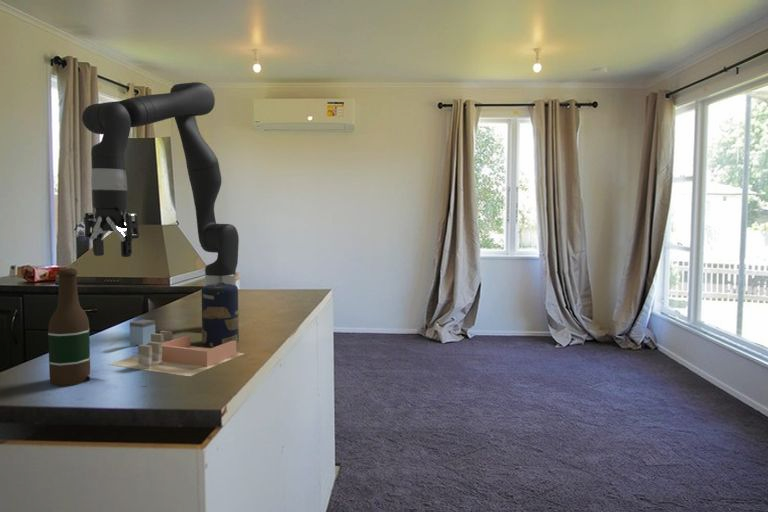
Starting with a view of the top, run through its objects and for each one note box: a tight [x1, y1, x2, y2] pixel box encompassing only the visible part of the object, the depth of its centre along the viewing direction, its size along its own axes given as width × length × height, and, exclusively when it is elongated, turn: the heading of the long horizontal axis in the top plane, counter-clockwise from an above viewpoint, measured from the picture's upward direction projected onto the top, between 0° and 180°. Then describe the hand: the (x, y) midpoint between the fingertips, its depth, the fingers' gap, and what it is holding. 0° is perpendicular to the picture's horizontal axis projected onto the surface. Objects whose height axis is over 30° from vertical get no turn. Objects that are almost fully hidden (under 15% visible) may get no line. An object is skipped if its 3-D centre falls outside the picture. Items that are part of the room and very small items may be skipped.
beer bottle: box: [47, 268, 91, 387], centre depth 108 cm, size 8×8×24 cm
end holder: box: [162, 334, 240, 367], centre depth 124 cm, size 12×15×4 cm
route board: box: [107, 330, 245, 377], centre depth 123 cm, size 20×23×6 cm
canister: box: [201, 282, 240, 348], centre depth 138 cm, size 10×10×18 cm
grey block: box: [129, 318, 156, 348], centre depth 138 cm, size 4×4×7 cm
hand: (112, 256), depth 123 cm, fingers open, 8 cm apart
